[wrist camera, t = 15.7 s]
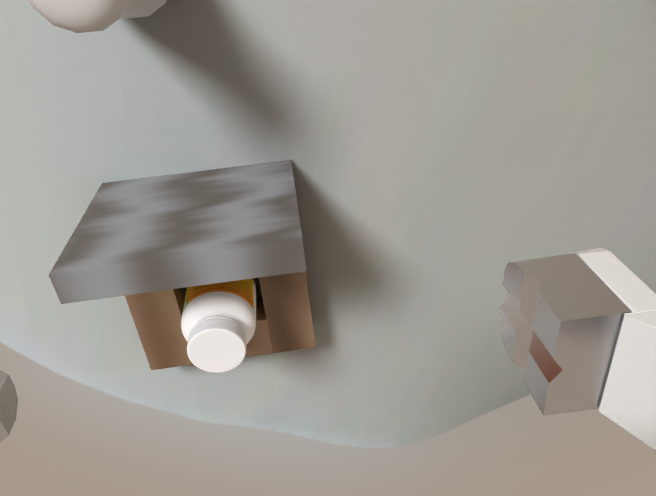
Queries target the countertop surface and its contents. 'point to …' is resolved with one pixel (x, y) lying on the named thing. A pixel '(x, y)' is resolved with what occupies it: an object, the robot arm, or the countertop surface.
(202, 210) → the socket dock
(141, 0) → the salt shaker
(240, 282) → the supplement bottle
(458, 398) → the countertop surface
